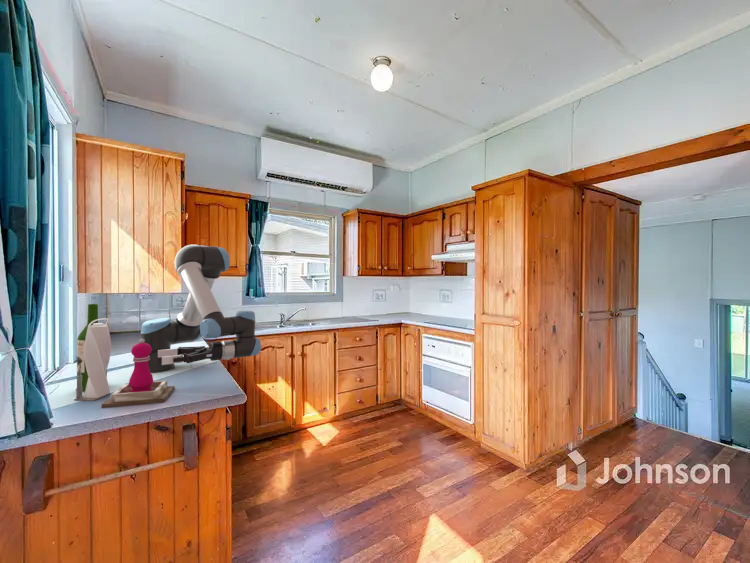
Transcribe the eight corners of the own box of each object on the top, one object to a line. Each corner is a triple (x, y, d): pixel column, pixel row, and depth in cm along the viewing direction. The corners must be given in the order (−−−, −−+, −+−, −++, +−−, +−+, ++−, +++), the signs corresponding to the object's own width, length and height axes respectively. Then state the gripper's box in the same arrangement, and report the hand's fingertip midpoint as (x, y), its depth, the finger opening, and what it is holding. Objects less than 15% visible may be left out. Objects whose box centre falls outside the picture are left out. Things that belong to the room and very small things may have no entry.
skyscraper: (95, 392, 126) (96, 317, 125) (116, 392, 125) (117, 318, 125) (74, 400, 117) (75, 320, 117) (97, 401, 117) (97, 320, 117)
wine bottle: (71, 389, 128) (72, 304, 128) (97, 383, 136) (98, 303, 136) (86, 392, 125) (87, 305, 125) (112, 385, 133) (113, 304, 133)
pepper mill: (140, 398, 117) (141, 340, 117) (123, 396, 118) (124, 339, 118) (158, 391, 124) (158, 337, 124) (141, 390, 125) (142, 336, 125)
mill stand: (119, 393, 125) (119, 383, 125) (174, 388, 131) (174, 379, 131) (101, 407, 111) (101, 396, 111) (163, 402, 117) (163, 391, 117)
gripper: (229, 366, 127) (163, 375, 114) (213, 354, 147) (156, 360, 134) (229, 346, 127) (163, 353, 114) (214, 336, 147) (156, 341, 134)
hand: (159, 357), depth 124 cm, fingers open, 13 cm apart
